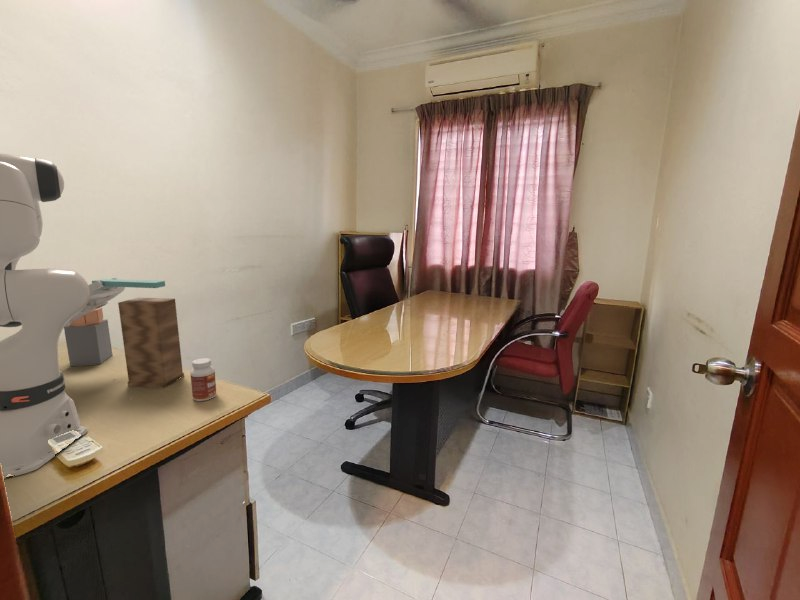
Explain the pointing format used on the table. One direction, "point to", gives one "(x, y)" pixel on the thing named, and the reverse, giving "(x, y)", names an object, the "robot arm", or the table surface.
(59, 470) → the table surface
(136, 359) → the walnut shelf
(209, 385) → the pill bottle
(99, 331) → the riser
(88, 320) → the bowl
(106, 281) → the lid slat
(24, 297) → the robot arm
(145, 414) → the table surface
